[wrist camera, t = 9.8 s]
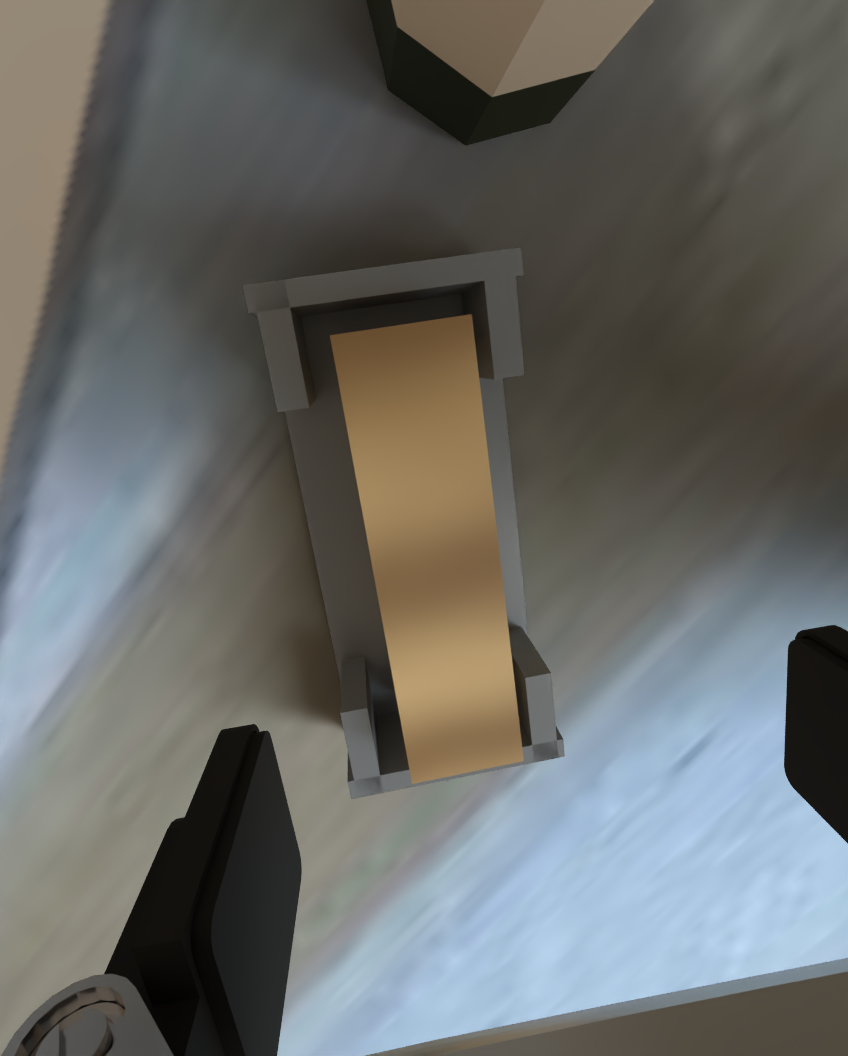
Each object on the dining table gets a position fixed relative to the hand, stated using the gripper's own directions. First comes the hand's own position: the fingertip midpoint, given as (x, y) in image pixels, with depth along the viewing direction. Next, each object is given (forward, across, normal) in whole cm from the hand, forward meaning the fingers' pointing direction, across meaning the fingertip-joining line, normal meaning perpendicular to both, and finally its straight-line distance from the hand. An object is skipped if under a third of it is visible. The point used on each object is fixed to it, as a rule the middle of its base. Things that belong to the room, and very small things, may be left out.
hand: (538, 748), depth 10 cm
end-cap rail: (+15, +1, 0) cm, 15 cm away
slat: (+15, +1, 0) cm, 15 cm away
